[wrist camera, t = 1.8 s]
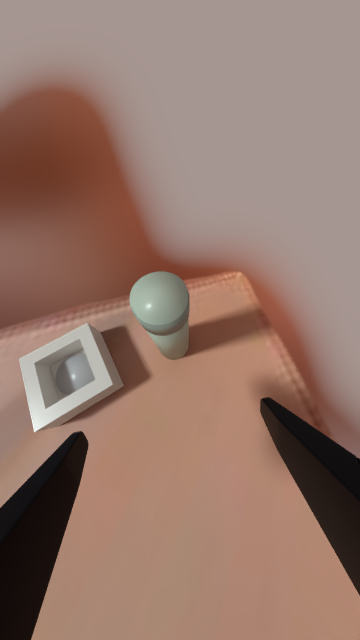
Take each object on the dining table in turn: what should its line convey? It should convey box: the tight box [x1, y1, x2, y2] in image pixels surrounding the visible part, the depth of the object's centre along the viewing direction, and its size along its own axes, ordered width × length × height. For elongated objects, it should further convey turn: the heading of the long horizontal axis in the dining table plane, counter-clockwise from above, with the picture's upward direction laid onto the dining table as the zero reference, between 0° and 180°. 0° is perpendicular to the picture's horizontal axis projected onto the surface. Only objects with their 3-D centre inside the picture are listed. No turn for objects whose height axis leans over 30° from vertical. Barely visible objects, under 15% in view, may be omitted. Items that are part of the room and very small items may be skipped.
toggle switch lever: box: [130, 272, 189, 360], centre depth 18 cm, size 4×4×13 cm
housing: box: [19, 323, 124, 432], centre depth 21 cm, size 9×9×4 cm
